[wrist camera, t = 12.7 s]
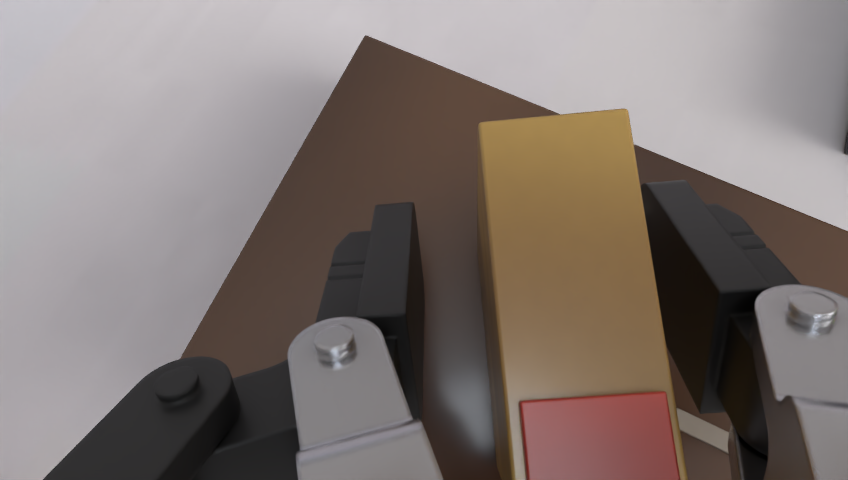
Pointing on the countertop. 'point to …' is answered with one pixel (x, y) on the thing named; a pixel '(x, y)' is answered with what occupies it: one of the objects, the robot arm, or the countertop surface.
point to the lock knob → (572, 304)
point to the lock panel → (444, 245)
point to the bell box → (847, 147)
